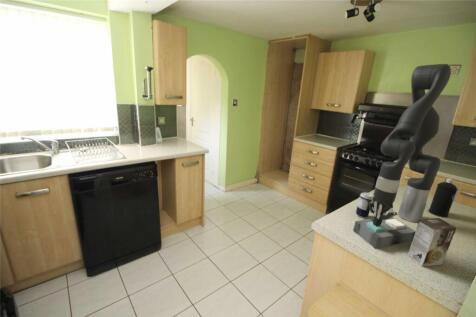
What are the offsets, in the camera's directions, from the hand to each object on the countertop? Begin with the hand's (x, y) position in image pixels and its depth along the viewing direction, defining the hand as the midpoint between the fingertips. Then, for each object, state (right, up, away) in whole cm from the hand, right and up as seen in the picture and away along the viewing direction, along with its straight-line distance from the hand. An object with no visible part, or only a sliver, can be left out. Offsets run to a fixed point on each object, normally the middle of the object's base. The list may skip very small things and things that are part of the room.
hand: (376, 225), depth 95 cm
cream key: (+10, -4, +4) cm, 12 cm away
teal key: (0, -4, +1) cm, 4 cm away
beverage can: (+4, -1, +19) cm, 20 cm away
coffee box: (+12, -11, -10) cm, 19 cm away
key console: (+5, -6, +3) cm, 8 cm away
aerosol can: (+49, -2, +26) cm, 56 cm away
